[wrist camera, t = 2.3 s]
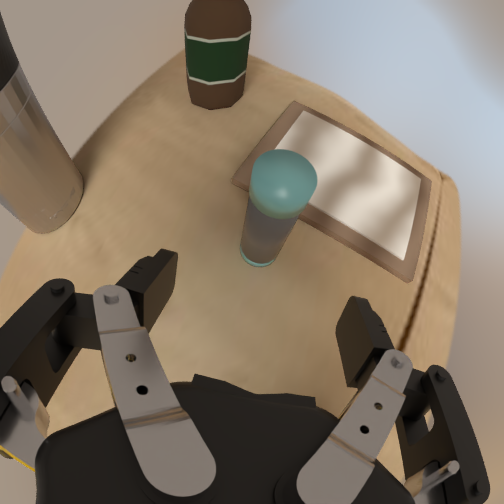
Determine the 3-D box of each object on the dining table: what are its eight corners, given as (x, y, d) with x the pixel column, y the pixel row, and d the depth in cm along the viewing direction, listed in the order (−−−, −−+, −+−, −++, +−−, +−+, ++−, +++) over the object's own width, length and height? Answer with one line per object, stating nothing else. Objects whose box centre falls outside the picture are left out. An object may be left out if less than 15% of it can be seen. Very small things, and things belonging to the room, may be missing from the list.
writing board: (231, 183, 29) (232, 176, 28) (292, 105, 34) (294, 99, 33) (407, 283, 27) (414, 280, 26) (427, 184, 33) (432, 180, 31)
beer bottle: (180, 109, 32) (171, -63, 10) (194, 78, 35) (195, -67, 13) (239, 114, 33) (261, -64, 10) (246, 82, 35) (267, -65, 13)
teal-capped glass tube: (231, 255, 26) (240, 181, 15) (251, 223, 27) (271, 140, 16) (267, 275, 26) (302, 214, 15) (285, 242, 27) (326, 168, 16)
